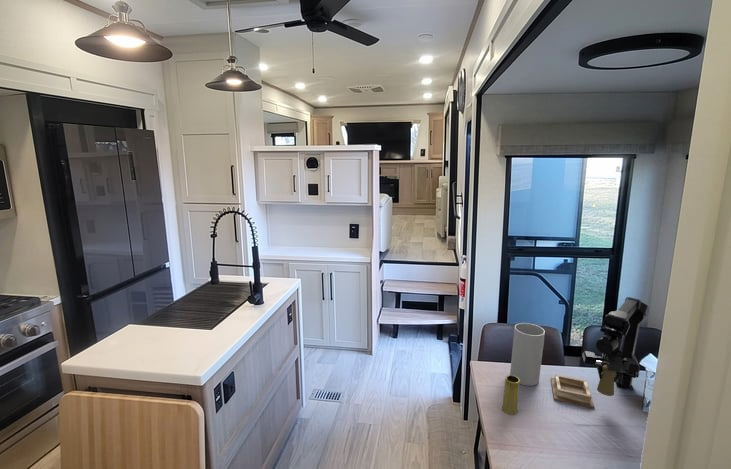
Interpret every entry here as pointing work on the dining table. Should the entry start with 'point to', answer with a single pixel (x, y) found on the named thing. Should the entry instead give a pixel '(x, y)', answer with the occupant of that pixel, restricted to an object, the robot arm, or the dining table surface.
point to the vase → (511, 395)
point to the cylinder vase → (527, 353)
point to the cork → (606, 382)
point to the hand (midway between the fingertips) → (607, 380)
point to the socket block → (571, 391)
